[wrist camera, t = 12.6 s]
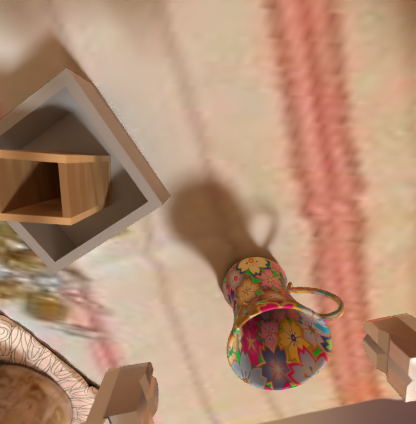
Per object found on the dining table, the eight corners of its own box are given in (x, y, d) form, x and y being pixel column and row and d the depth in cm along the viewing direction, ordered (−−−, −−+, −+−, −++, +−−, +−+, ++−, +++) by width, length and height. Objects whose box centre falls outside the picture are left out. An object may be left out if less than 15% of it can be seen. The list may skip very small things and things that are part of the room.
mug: (233, 320, 31) (248, 403, 20) (208, 266, 28) (210, 328, 18) (314, 290, 30) (373, 361, 19) (294, 232, 28) (348, 277, 17)
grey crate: (170, 195, 26) (162, 204, 21) (80, 253, 28) (54, 273, 23) (95, 86, 23) (66, 67, 18) (-1, 158, 25) (-51, 158, 20)
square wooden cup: (110, 155, 24) (65, 155, 16) (112, 204, 25) (71, 225, 17) (55, 151, 24) (-18, 148, 16) (59, 200, 25) (-6, 220, 17)
